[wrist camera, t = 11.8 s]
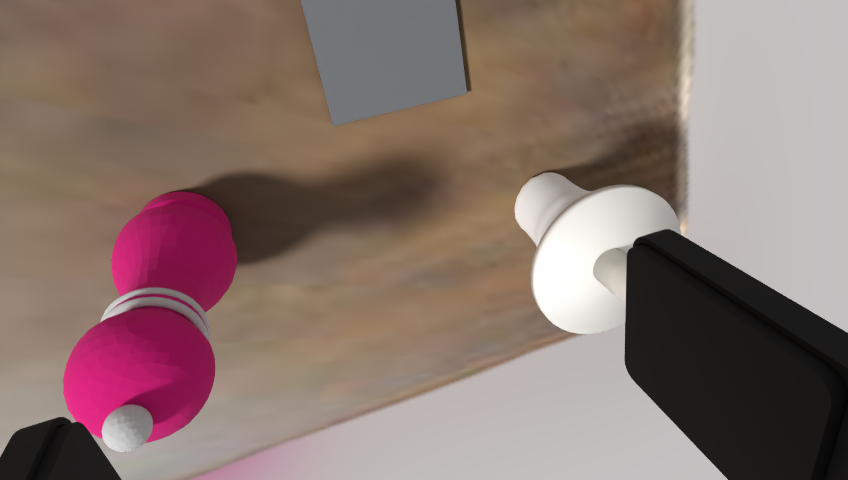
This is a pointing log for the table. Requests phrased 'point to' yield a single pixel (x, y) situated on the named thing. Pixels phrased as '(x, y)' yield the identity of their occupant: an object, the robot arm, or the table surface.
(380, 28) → the mat
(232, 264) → the pepper mill
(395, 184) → the table surface
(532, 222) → the cup
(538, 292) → the lid
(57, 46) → the table surface
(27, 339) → the table surface
